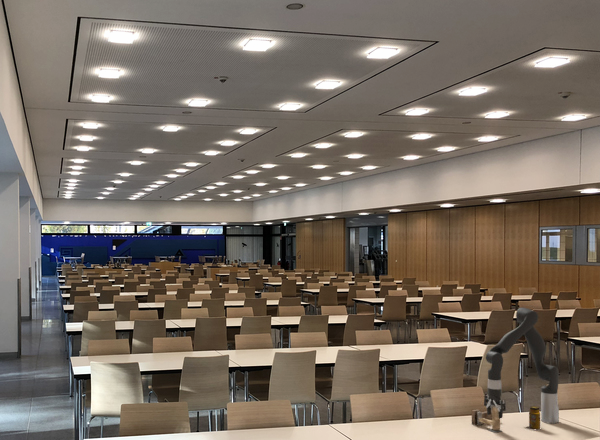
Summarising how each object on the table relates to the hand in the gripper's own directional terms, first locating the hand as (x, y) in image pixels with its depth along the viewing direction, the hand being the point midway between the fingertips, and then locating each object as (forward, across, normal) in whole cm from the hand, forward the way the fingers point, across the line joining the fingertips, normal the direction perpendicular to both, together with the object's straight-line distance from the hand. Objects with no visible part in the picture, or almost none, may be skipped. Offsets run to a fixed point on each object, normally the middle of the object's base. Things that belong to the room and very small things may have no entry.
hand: (494, 416), depth 357 cm
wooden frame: (+8, +6, -1) cm, 10 cm away
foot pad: (+8, 0, 0) cm, 8 cm away
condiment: (+8, -6, -24) cm, 26 cm away
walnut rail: (+8, +15, -7) cm, 19 cm away
